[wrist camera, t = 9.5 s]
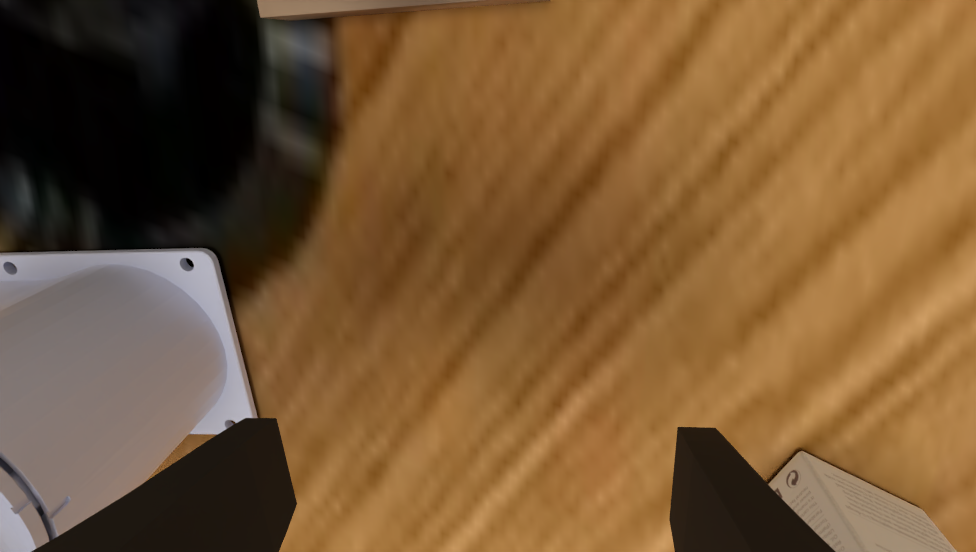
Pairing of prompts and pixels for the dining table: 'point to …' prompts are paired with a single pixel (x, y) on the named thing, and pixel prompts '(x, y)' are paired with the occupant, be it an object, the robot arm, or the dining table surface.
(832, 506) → the skincare box
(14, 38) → the dining table surface
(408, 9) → the tower base
